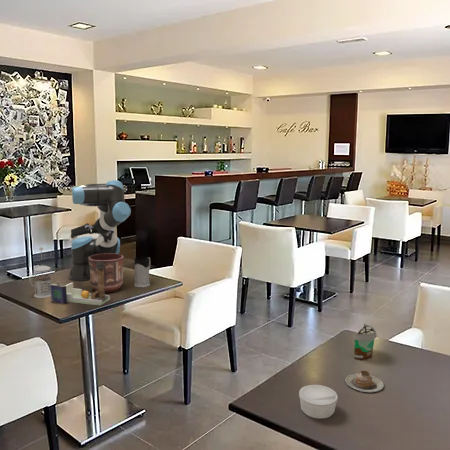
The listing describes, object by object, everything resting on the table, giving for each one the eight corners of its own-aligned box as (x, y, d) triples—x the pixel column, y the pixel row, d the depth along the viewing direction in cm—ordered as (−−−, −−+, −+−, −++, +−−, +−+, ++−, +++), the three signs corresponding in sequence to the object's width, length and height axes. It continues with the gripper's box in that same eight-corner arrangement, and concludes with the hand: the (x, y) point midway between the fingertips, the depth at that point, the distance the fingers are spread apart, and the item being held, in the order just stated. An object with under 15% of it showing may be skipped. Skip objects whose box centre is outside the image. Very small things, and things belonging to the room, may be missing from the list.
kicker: (97, 296, 240) (95, 259, 237) (108, 297, 239) (106, 260, 236) (91, 300, 235) (89, 262, 231) (102, 301, 233) (100, 263, 230)
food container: (370, 364, 171) (371, 337, 169) (353, 360, 174) (354, 334, 172) (379, 352, 181) (380, 326, 180) (363, 348, 184) (364, 323, 183)
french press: (57, 294, 248) (55, 247, 243) (35, 299, 239) (32, 250, 235) (48, 290, 254) (45, 244, 250) (26, 295, 246) (23, 247, 242)
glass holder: (131, 286, 263) (130, 259, 260) (143, 279, 276) (142, 253, 274) (145, 287, 260) (145, 260, 258) (157, 280, 273) (156, 254, 271)
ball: (84, 296, 241) (83, 289, 241) (91, 297, 240) (90, 289, 240) (79, 299, 237) (79, 291, 237) (86, 299, 236) (86, 292, 236)
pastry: (337, 383, 159) (338, 370, 158) (361, 373, 165) (362, 360, 165) (367, 398, 149) (368, 384, 148) (391, 387, 156) (392, 374, 155)
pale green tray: (71, 295, 246) (70, 282, 245) (110, 299, 241) (109, 285, 239) (60, 301, 238) (59, 287, 236) (100, 305, 232) (99, 291, 230)
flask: (50, 302, 236) (48, 280, 234) (54, 300, 239) (53, 279, 237) (64, 304, 232) (63, 283, 231) (69, 303, 235) (68, 281, 233)
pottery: (103, 297, 244) (102, 262, 241) (83, 290, 255) (81, 256, 253) (130, 289, 258) (130, 256, 255) (110, 283, 269) (109, 251, 266)
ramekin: (324, 426, 134) (325, 408, 133) (290, 411, 141) (291, 394, 140) (344, 409, 142) (344, 393, 141) (311, 396, 149) (311, 380, 148)
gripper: (80, 227, 206) (58, 245, 220) (131, 234, 223) (107, 251, 237) (79, 211, 209) (58, 230, 223) (129, 220, 226) (106, 237, 240)
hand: (83, 241), depth 230 cm, fingers open, 13 cm apart
